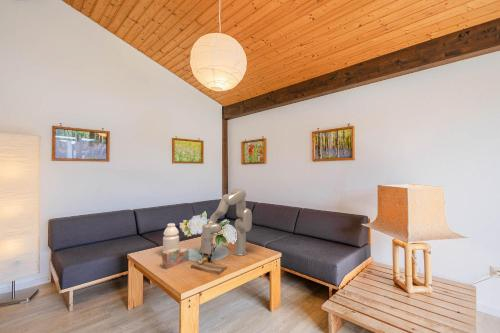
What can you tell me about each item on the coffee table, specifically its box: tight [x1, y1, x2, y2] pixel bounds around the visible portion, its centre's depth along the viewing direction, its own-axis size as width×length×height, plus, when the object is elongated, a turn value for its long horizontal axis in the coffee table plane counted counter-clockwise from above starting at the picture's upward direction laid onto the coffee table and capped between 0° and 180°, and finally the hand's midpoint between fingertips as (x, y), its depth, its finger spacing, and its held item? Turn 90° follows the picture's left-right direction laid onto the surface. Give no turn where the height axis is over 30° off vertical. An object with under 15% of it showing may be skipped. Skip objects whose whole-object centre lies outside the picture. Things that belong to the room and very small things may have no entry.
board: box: [190, 259, 227, 275], centre depth 184 cm, size 11×26×2 cm, turn 66°
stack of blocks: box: [161, 248, 190, 270], centre depth 192 cm, size 21×6×12 cm, turn 145°
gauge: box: [197, 254, 209, 264], centre depth 191 cm, size 12×5×6 cm, turn 156°
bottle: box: [162, 222, 180, 252], centre depth 210 cm, size 14×14×28 cm
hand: (206, 261), depth 194 cm, fingers closed on gauge, 5 cm apart
